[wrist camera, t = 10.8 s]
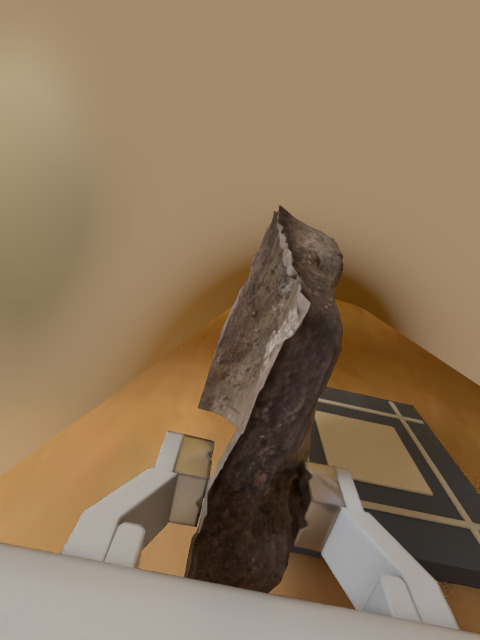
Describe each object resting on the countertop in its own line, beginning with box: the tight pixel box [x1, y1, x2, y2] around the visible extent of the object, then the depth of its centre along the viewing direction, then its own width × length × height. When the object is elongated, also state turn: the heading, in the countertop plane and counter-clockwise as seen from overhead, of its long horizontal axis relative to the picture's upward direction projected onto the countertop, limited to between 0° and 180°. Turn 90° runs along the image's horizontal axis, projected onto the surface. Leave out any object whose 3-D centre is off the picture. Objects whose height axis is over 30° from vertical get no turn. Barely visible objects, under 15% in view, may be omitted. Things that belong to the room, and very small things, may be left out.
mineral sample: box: [184, 206, 343, 593], centre depth 16 cm, size 17×4×15 cm, turn 177°
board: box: [290, 387, 480, 588], centre depth 32 cm, size 18×20×2 cm
